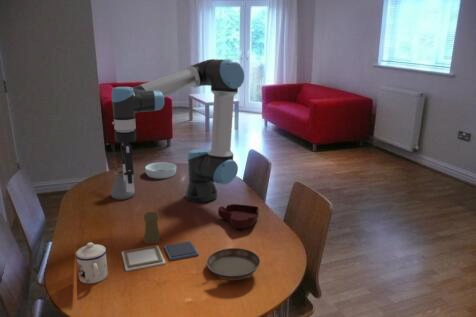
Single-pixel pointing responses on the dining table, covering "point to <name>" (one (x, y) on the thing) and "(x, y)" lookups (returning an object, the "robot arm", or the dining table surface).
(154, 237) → the olive knob handle
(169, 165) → the cereal bowl
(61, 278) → the dining table surface
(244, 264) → the plant saucer
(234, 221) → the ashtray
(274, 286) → the dining table surface
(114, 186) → the coffee pot
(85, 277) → the teacup with lid
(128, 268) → the board
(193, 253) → the ink pad
